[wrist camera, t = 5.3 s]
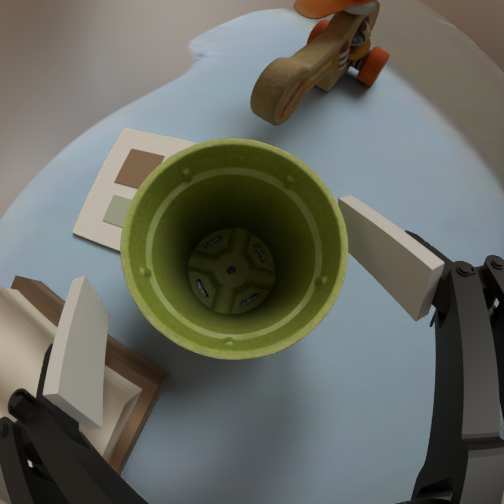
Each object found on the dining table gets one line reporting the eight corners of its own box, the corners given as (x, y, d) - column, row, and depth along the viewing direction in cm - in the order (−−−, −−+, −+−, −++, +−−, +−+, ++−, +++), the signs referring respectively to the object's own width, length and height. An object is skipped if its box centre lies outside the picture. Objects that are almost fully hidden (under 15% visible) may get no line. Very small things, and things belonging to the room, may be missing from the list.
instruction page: (125, 130, 21) (123, 127, 21) (196, 144, 21) (195, 142, 21) (74, 233, 19) (71, 232, 18) (147, 261, 19) (145, 260, 18)
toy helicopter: (380, 73, 26) (428, -7, 12) (298, 186, 21) (373, 46, 8) (323, 40, 26) (353, -45, 13) (214, 133, 21) (210, -16, 8)
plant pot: (250, 184, 21) (263, 109, 12) (324, 288, 20) (387, 270, 11) (143, 250, 19) (88, 208, 11) (214, 364, 18) (202, 404, 9)
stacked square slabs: (41, 281, 18) (-11, 268, 11) (170, 373, 17) (143, 400, 11) (6, 397, 15) (-38, 409, 8) (115, 485, 14) (87, 525, 8)
